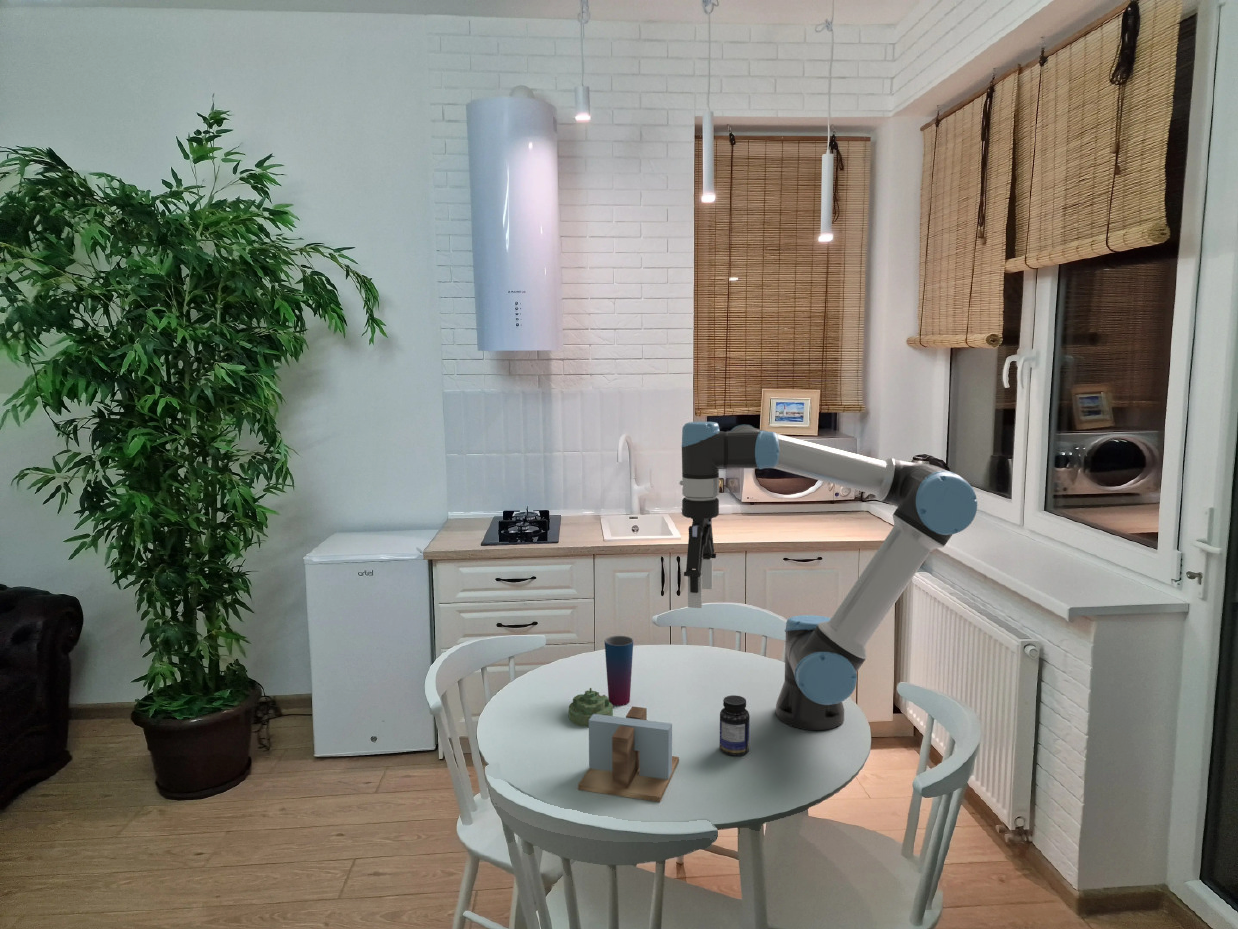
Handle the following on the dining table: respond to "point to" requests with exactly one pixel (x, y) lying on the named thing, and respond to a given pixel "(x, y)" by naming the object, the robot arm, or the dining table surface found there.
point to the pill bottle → (734, 726)
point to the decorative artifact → (589, 707)
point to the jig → (626, 768)
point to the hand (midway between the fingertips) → (700, 597)
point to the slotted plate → (647, 740)
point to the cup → (619, 668)
